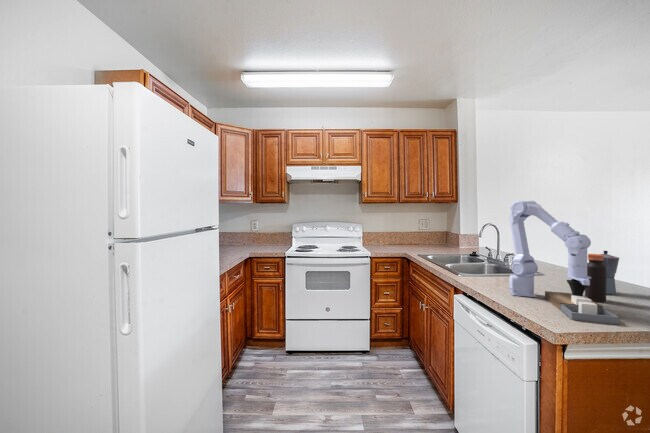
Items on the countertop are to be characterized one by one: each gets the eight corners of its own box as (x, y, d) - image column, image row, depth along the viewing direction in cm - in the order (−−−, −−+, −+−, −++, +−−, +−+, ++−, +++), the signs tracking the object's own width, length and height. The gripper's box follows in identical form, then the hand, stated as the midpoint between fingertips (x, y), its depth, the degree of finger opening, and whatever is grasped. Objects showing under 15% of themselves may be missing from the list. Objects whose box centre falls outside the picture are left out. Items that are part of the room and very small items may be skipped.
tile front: (578, 313, 107) (581, 315, 105) (578, 301, 107) (581, 303, 104) (593, 314, 105) (597, 317, 103) (593, 302, 105) (597, 305, 103)
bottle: (610, 303, 119) (611, 256, 118) (591, 302, 120) (592, 255, 120) (598, 298, 125) (598, 253, 125) (580, 297, 127) (581, 253, 126)
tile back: (576, 305, 108) (576, 298, 108) (571, 301, 113) (571, 295, 113) (591, 306, 107) (591, 299, 107) (585, 302, 111) (585, 296, 111)
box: (571, 319, 102) (571, 312, 102) (560, 310, 111) (560, 304, 111) (618, 324, 97) (618, 317, 97) (603, 314, 106) (603, 308, 106)
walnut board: (560, 310, 111) (560, 302, 111) (544, 297, 127) (544, 291, 127) (602, 314, 106) (602, 306, 106) (581, 300, 122) (581, 294, 122)
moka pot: (626, 293, 131) (627, 251, 131) (604, 297, 127) (604, 253, 126) (601, 288, 140) (602, 248, 140) (580, 291, 136) (580, 250, 135)
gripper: (600, 269, 104) (599, 305, 105) (581, 262, 118) (581, 294, 118) (576, 268, 107) (576, 303, 107) (560, 261, 120) (560, 292, 121)
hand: (577, 298), depth 113 cm, fingers closed
